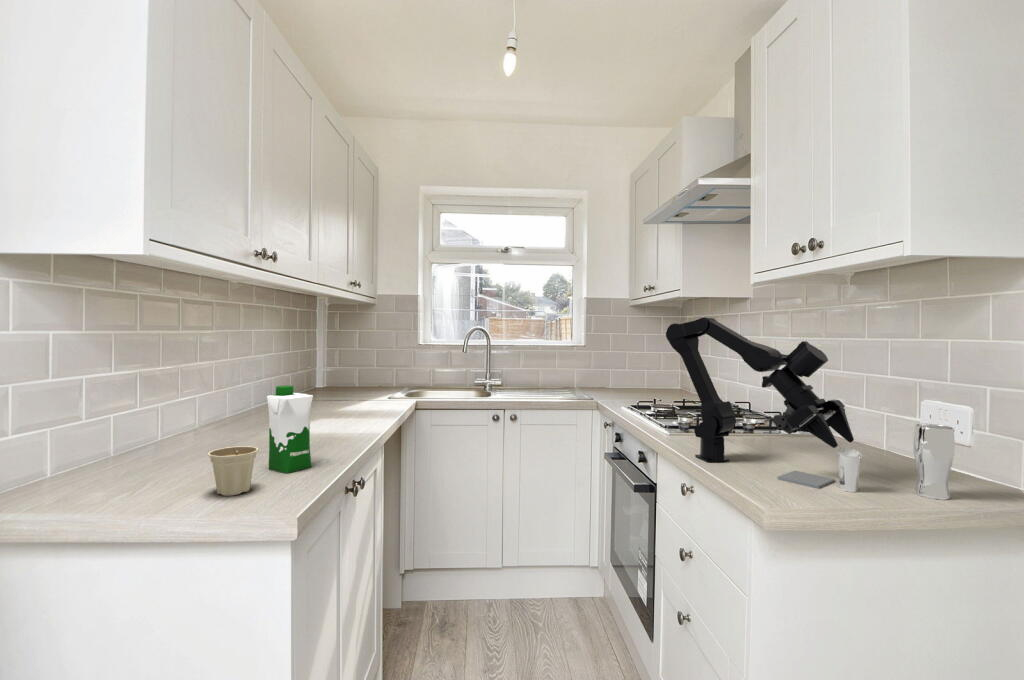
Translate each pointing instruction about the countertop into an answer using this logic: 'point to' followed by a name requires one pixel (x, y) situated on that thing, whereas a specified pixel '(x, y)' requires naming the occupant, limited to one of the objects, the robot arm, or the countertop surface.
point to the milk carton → (289, 430)
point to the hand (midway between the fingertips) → (844, 444)
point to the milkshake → (849, 469)
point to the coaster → (806, 479)
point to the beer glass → (933, 459)
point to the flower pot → (233, 469)
